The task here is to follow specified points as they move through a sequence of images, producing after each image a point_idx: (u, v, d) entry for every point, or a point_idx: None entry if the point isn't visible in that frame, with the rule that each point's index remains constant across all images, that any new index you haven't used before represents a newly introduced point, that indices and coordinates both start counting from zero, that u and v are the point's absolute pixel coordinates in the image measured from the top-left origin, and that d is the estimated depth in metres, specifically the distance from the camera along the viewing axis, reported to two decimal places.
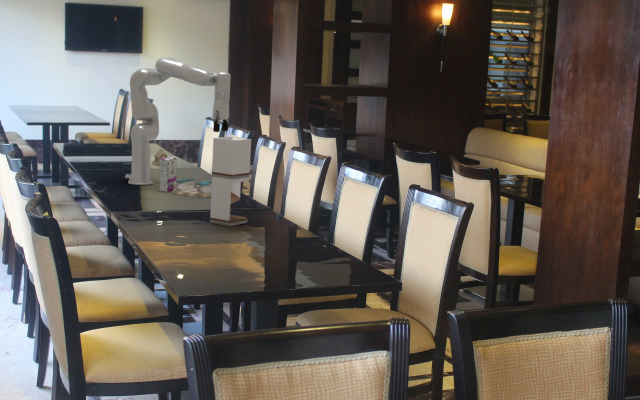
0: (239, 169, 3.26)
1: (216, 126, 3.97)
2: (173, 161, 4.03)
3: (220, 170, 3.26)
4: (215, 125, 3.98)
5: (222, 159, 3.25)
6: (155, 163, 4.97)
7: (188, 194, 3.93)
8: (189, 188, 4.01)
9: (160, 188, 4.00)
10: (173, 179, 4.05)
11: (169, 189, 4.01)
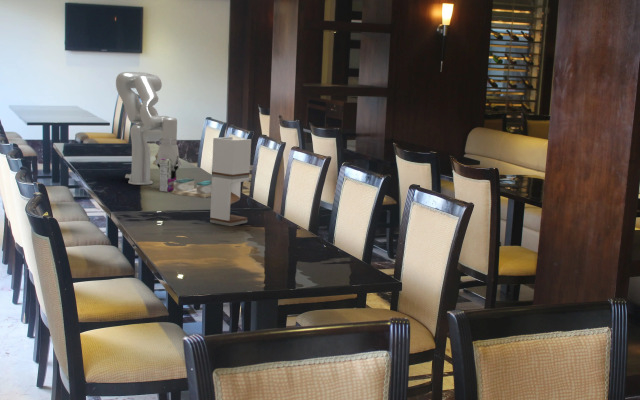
0: (239, 169, 3.26)
1: (175, 173, 4.03)
2: None
3: (220, 170, 3.26)
4: (175, 172, 4.02)
5: (222, 159, 3.25)
6: None
7: (188, 194, 3.93)
8: (189, 188, 4.01)
9: (160, 188, 4.00)
10: (173, 179, 4.05)
11: (169, 189, 4.01)
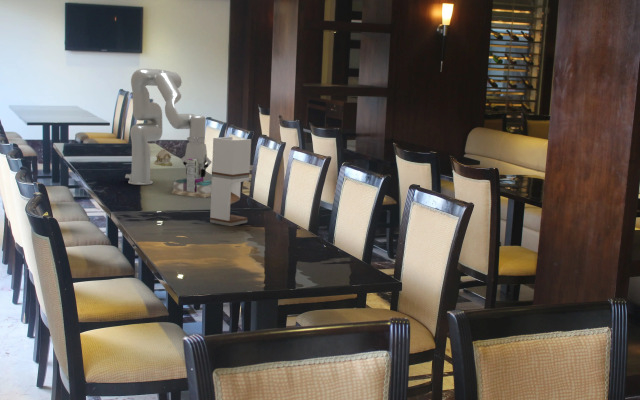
0: (238, 169, 3.26)
1: (205, 171, 3.96)
2: None
3: (220, 170, 3.26)
4: (204, 170, 3.96)
5: (222, 159, 3.25)
6: (158, 163, 4.99)
7: (188, 194, 3.93)
8: None
9: (187, 188, 3.94)
10: (200, 179, 3.99)
11: (196, 189, 3.95)
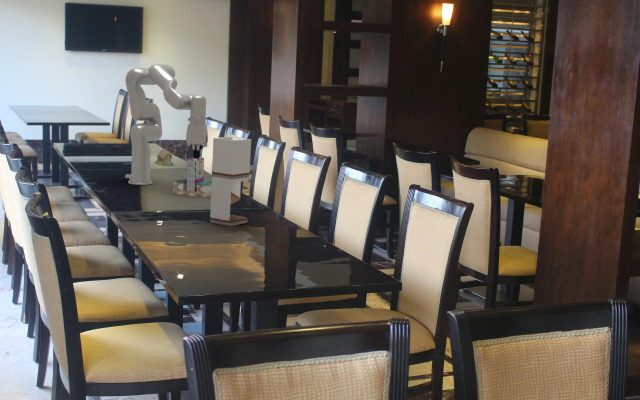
0: (239, 169, 3.26)
1: (199, 152, 3.96)
2: (201, 161, 3.97)
3: (220, 170, 3.26)
4: (199, 152, 3.95)
5: (222, 159, 3.25)
6: (160, 163, 5.00)
7: (188, 194, 3.93)
8: None
9: (187, 188, 3.94)
10: (200, 179, 3.99)
11: (196, 189, 3.95)
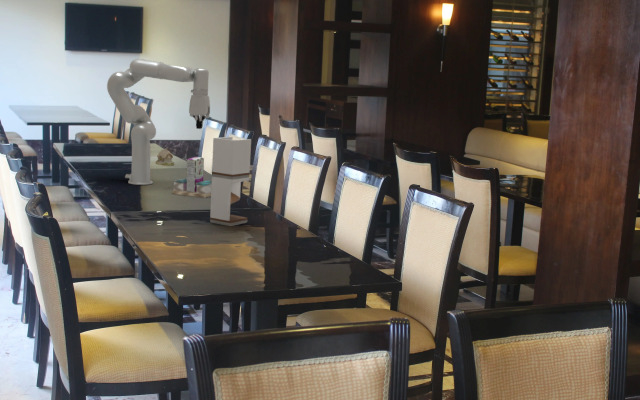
0: (239, 169, 3.26)
1: (202, 123, 4.13)
2: (200, 161, 3.97)
3: (220, 170, 3.26)
4: (201, 122, 4.12)
5: (222, 159, 3.25)
6: (161, 163, 5.00)
7: (188, 194, 3.93)
8: None
9: (187, 188, 3.94)
10: (200, 179, 3.99)
11: (196, 189, 3.95)
